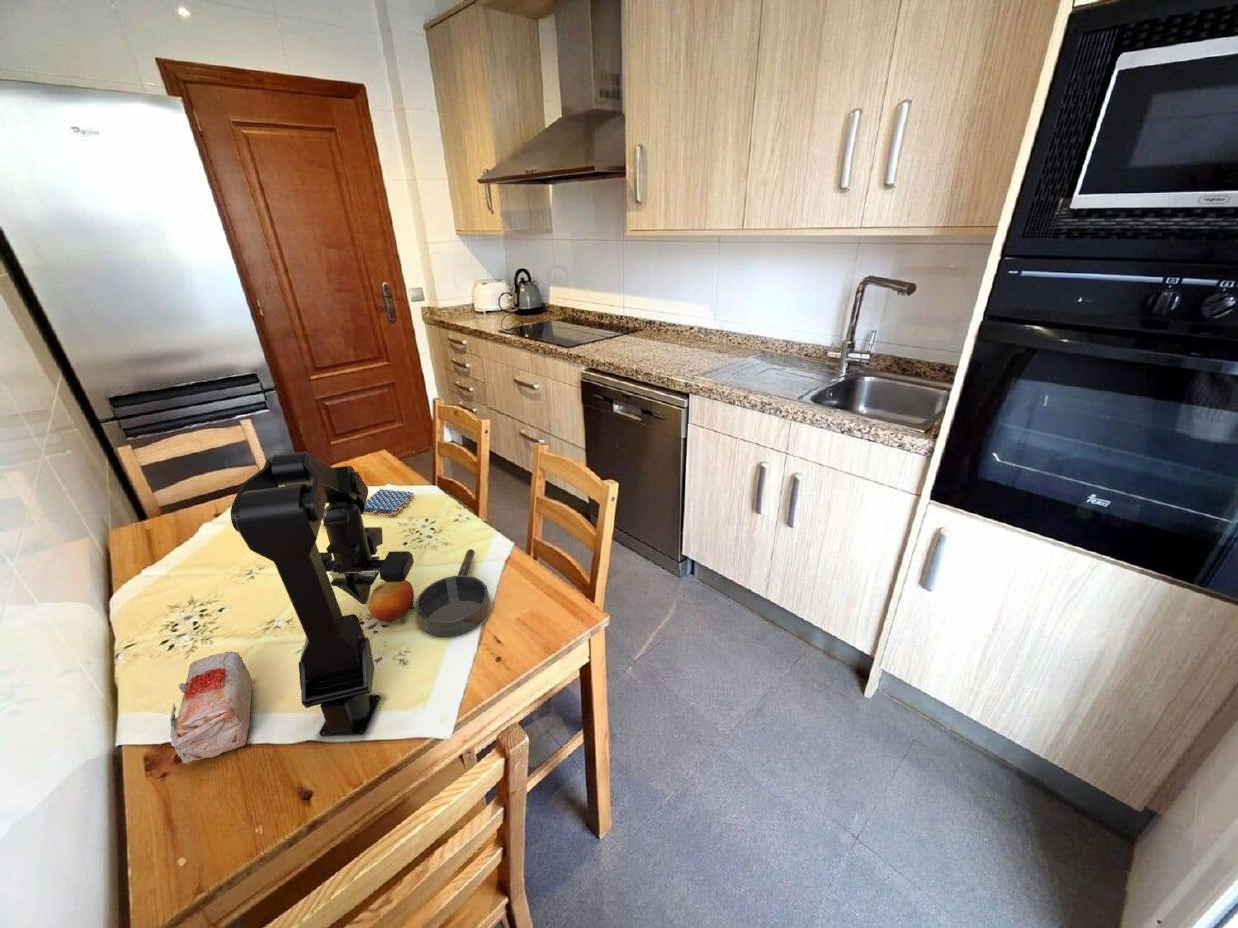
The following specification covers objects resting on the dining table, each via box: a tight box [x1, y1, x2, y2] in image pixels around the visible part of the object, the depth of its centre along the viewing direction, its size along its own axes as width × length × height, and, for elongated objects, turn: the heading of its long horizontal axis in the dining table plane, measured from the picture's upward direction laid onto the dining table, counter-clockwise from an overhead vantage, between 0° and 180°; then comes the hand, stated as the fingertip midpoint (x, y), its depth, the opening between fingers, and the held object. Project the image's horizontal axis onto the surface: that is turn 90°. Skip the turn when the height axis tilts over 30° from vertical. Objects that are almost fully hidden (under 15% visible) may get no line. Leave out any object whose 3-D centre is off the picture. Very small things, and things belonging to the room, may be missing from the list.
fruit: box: [367, 579, 416, 624], centre depth 94 cm, size 8×8×8 cm
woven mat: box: [363, 488, 415, 517], centre depth 130 cm, size 10×11×2 cm
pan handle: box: [457, 548, 476, 576], centre depth 104 cm, size 10×2×2 cm, turn 3°
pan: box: [415, 575, 491, 638], centre depth 95 cm, size 13×13×4 cm
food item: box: [169, 651, 252, 765], centre depth 72 cm, size 14×8×10 cm, turn 31°
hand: (365, 602), depth 94 cm, fingers closed
